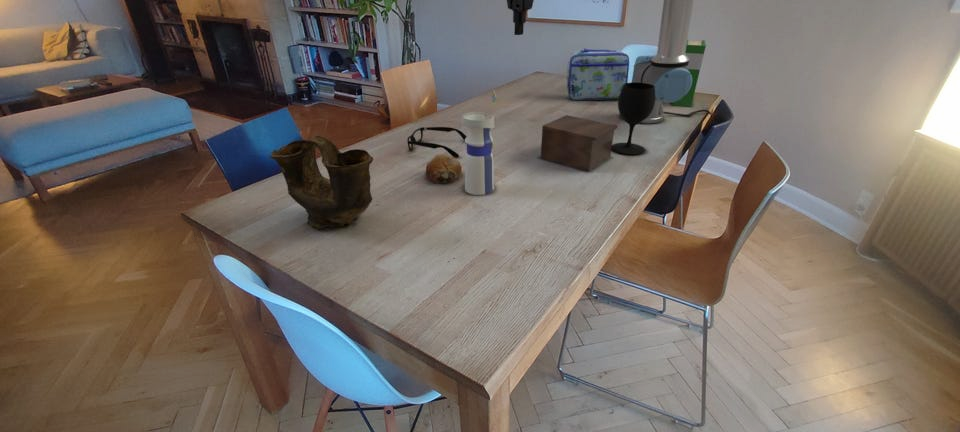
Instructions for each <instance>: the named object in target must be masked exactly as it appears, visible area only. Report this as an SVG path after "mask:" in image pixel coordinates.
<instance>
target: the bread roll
mask: <svg viewBox="0 0 960 432" xmlns="http://www.w3.org/2000/svg"><path fill="white" fill-rule="evenodd" d="M425 176H426V179H427V180H428V181H429V182H431V183H434V184H449V183H452V182H455V181H458V180H459V179H460V177H462V165H461V163H460V161H459V160H458V159H457V158H455V157H453V156H452V155H451V154H436V155H435V156H434V157H432V158H431V159H430V160H429V161H428V162H427V163H426V166H425Z"/></svg>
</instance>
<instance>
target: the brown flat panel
mask: <svg viewBox="0 0 960 432" xmlns="http://www.w3.org/2000/svg"><path fill="white" fill-rule="evenodd" d="M542 128H544V129H548V130H552V131H557V132H561V133H565V134H569V135H574V136H578V137H582V138H587V139H591V140H595V141H596V140H598V139H599V138H601V137H603V136H605V135H606V134H608V133H610V132H611V131H613V130H614V131H615V130H618V125H617V124H613V123H612V124H611V123H607V122H603V121H597V120H592V119H588V118H584V117H583V118H582V117H578V116H572V115H567V114H565V115H564V116H561V117H559V118H556V119H554V120H552V121H550V122H547V123H545V124H543V125H542Z"/></svg>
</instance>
